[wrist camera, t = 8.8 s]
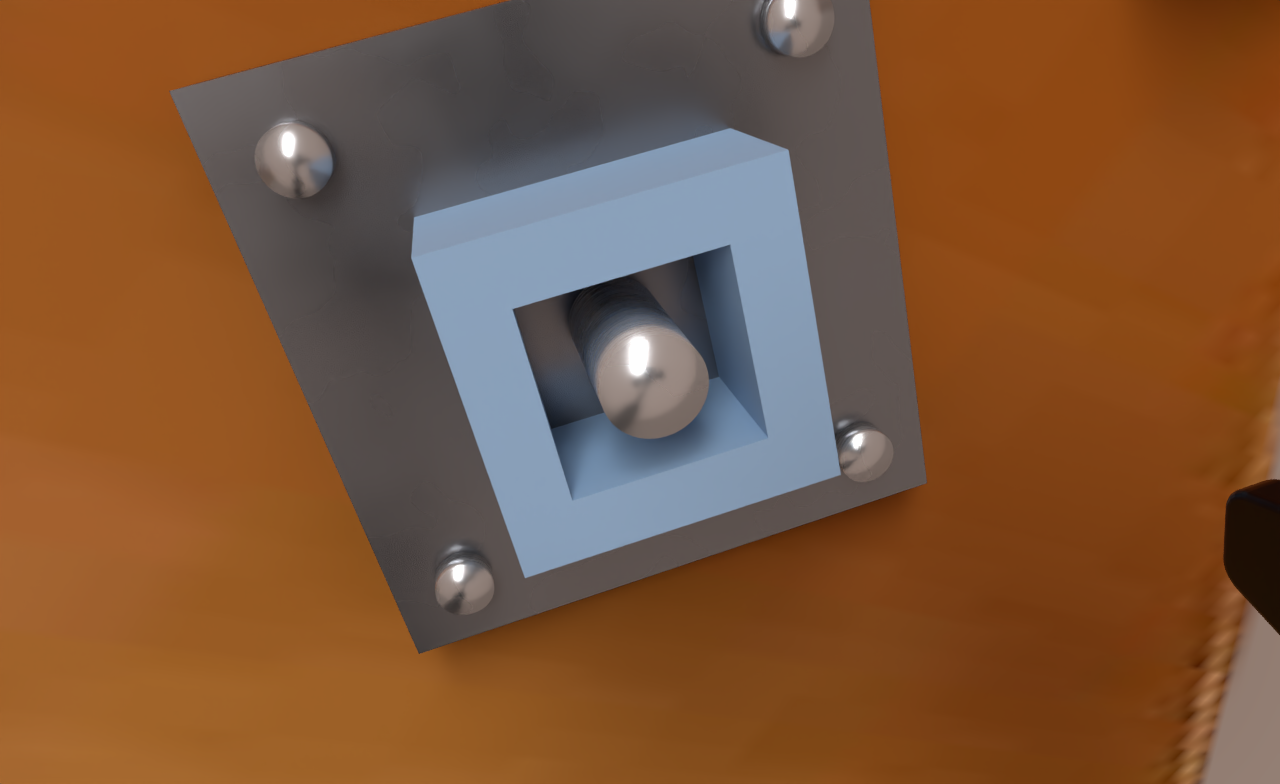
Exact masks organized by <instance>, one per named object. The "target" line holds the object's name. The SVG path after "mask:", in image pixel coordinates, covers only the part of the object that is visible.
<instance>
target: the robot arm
mask: <svg viewBox="0 0 1280 784" xmlns="http://www.w3.org/2000/svg"><path fill="white" fill-rule="evenodd" d="M1223 560H1224V566H1225V570H1226V572H1227V574H1228V576H1229V578H1230V580H1231V581H1232V583H1233V584H1234V586H1235V587H1236V588H1237V589H1238V590H1239V591H1240V593H1241V594H1242V595H1243V596H1244V597H1245V598H1246V599H1247V600H1248V601H1249V602H1250V603H1251V604H1252V606H1253V607H1254V608H1255V609H1256V610H1257V611H1258V612H1259V613H1260V614H1261V615H1262V616H1263V617H1264V618H1265V620H1266V621H1267V622H1268V623H1269V624H1270V625H1271V626H1272V627H1273V628H1274V629H1275V630H1276V632H1277V633H1278V634H1279V635H1280V480H1277V479H1273V480H1266V481H1262V482H1259V483H1257V484H1254V485H1251V486H1248V487H1245V488H1242V489H1239V490H1237V491H1235V492H1234V493H1232V494H1231V495H1230V497H1229V499H1228V501H1227V503H1226V514H1225V534H1224V554H1223Z"/></svg>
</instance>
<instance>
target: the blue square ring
mask: <svg viewBox="0 0 1280 784" xmlns="http://www.w3.org/2000/svg"><path fill="white" fill-rule="evenodd" d="M690 256H693V259H694V264H695V268H696V273H697V278H698V282H699V287H700V292H701V296H702V301H703V305H704V310H705V315H706V319H707V324H708V328H709V333H710V338H711V342H712V347H713V352H714V356H715V361H716V365H717V370H718V375H719V377H717V378H714V379H710V380H709V388H708V394H707V398H706V400H705V403H704V405H703V407H702V409H701V411H700V412H699V413H698V415H697V416H696V417H695V418H694V419H693V421H692V422H690V423H689V424H688V425H687V426H686V427H684V428H683V429H681V430H680V431H678V432H676V433H674V434H671V435H669V436H666V437H662V438H655V439H644V438H637V437H633V436H631V435H628V434H626V433H624V432H622V431H621V430H619V429H618V428H617V427H615V426H614V425H613V424H612V423H611V421H610V420H609V419H608V417H607V416H606V414H605V412H604V413H601V414H598V415H595V416H591V417H588V418H585V419H582V420H579V421H575V422H572V423H569V424H566V425H563V426H559V427H556V428H553V429H551V427H550V424H549V420H548V417H547V414H546V411H545V408H544V404H543V401H542V398H541V395H540V392H539V388H538V385H537V382H536V379H535V376H534V372H533V369H532V366H531V363H530V360H529V357H528V353H527V350H526V347H525V344H524V341H523V337H522V334H521V331H520V328H519V325H518V321H517V318H516V315H515V312H514V308H518V307H521V306H524V305H528V304H531V303H534V302H538V301H541V300H545V299H548V298H551V297H555V296H558V295H561V294H565V293H568V292H572V291H575V290H578V289H582V288H585V287H589V286H592V285H595V284H599V283H602V282H605V281H609V280H612V279H616V278H619V277H622V276H626V275H629V274H632V273H636V272H639V271H643V270H646V269H649V268H653V267H656V266H659V265H663V264H666V263H670V262H673V261H676V260H680V259H683V258H686V257H690ZM411 259H412V262H413V265H414V267H415V270H416V273H417V276H418V279H419V281H420V284H421V287H422V290H423V293H424V295H425V298H426V301H427V304H428V307H429V310H430V312H431V315H432V318H433V321H434V324H435V326H436V329H437V332H438V335H439V338H440V340H441V343H442V346H443V349H444V352H445V355H446V357H447V360H448V363H449V366H450V369H451V371H452V374H453V377H454V380H455V383H456V385H457V388H458V391H459V394H460V397H461V400H462V402H463V405H464V408H465V411H466V414H467V416H468V419H469V422H470V425H471V428H472V430H473V433H474V436H475V439H476V442H477V444H478V447H479V450H480V453H481V456H482V459H483V461H484V464H485V467H486V470H487V473H488V475H489V478H490V481H491V484H492V487H493V489H494V492H495V495H496V498H497V501H498V504H499V506H500V509H501V512H502V515H503V518H504V520H505V523H506V526H507V529H508V532H509V534H510V537H511V540H512V543H513V546H514V549H515V551H516V554H517V557H518V560H519V563H520V565H521V568H522V571H523V574H524V577H525V578H527V577H530V576H533V575H536V574H539V573H542V572H545V571H548V570H551V569H555V568H558V567H561V566H564V565H567V564H570V563H573V562H576V561H579V560H582V559H585V558H588V557H591V556H594V555H597V554H600V553H603V552H606V551H610V550H613V549H616V548H619V547H622V546H625V545H628V544H631V543H634V542H637V541H640V540H643V539H646V538H649V537H652V536H655V535H658V534H661V533H665V532H668V531H671V530H674V529H677V528H680V527H683V526H686V525H689V524H692V523H695V522H698V521H701V520H704V519H707V518H710V517H713V516H716V515H719V514H723V513H726V512H729V511H732V510H735V509H738V508H741V507H744V506H747V505H750V504H753V503H756V502H759V501H762V500H765V499H768V498H771V497H774V496H778V495H781V494H784V493H787V492H790V491H793V490H796V489H799V488H802V487H805V486H808V485H811V484H814V483H817V482H820V481H823V480H826V479H829V478H833V477H836V476H839V475H841V472H840V466H839V460H838V454H837V448H836V441H835V435H834V429H833V423H832V417H831V410H830V404H829V398H828V392H827V386H826V379H825V373H824V367H823V361H822V355H821V348H820V342H819V336H818V330H817V324H816V317H815V311H814V305H813V299H812V293H811V286H810V280H809V274H808V268H807V261H806V255H805V249H804V243H803V237H802V230H801V224H800V218H799V212H798V206H797V199H796V193H795V187H794V181H793V175H792V168H791V162H790V156H789V150H788V149H785V148H782V147H780V146H777V145H774V144H772V143H769V142H766V141H764V140H761V139H758V138H756V137H753V136H750V135H747V134H745V133H742V132H739V131H737V130H734V129H731V128H729V129H725V130H722V131H718V132H715V133H711V134H708V135H704V136H701V137H697V138H693V139H690V140H686V141H683V142H679V143H676V144H672V145H669V146H665V147H662V148H658V149H655V150H651V151H647V152H644V153H640V154H637V155H633V156H630V157H626V158H623V159H619V160H616V161H612V162H609V163H605V164H601V165H598V166H594V167H591V168H587V169H584V170H580V171H577V172H573V173H570V174H566V175H562V176H559V177H555V178H552V179H548V180H545V181H541V182H538V183H534V184H531V185H527V186H524V187H520V188H516V189H513V190H509V191H506V192H502V193H499V194H495V195H492V196H488V197H485V198H481V199H477V200H474V201H470V202H467V203H463V204H460V205H456V206H453V207H449V208H446V209H442V210H439V211H435V212H431V213H428V214H424V215H421V216H417V217H414V226H413V240H412V254H411Z"/></svg>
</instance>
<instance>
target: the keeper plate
mask: <svg viewBox="0 0 1280 784" xmlns="http://www.w3.org/2000/svg"><path fill="white" fill-rule="evenodd" d="M169 92H170V94H171V96H172V98H173V101H174V103H175V105H176V107H177V110H178V112H179V114H180V116H181V119H182V121H183V123H184V125H185V128H186V130H187V132H188V134H189V137H190V139H191V141H192V143H193V146H194V148H195V150H196V152H197V155H198V157H199V159H200V161H201V164H202V166H203V168H204V170H205V173H206V175H207V177H208V179H209V182H210V184H211V186H212V188H213V191H214V193H215V195H216V197H217V200H218V202H219V204H220V206H221V209H222V211H223V213H224V215H225V218H226V220H227V222H228V224H229V227H230V229H231V231H232V233H233V236H234V238H235V240H236V242H237V245H238V247H239V249H240V252H241V254H242V256H243V258H244V261H245V263H246V265H247V267H248V270H249V272H250V274H251V276H252V279H253V281H254V283H255V285H256V288H257V290H258V292H259V294H260V297H261V299H262V301H263V303H264V306H265V308H266V310H267V312H268V315H269V317H270V319H271V321H272V324H273V326H274V328H275V330H276V333H277V335H278V337H279V339H280V342H281V344H282V346H283V348H284V351H285V353H286V355H287V357H288V360H289V362H290V364H291V366H292V369H293V371H294V373H295V375H296V378H297V380H298V382H299V384H300V387H301V389H302V391H303V393H304V396H305V398H306V400H307V402H308V405H309V407H310V409H311V411H312V414H313V416H314V418H315V420H316V423H317V425H318V427H319V429H320V432H321V434H322V436H323V438H324V441H325V443H326V445H327V448H328V450H329V452H330V454H331V457H332V459H333V461H334V463H335V466H336V468H337V470H338V472H339V475H340V477H341V479H342V481H343V484H344V486H345V488H346V490H347V493H348V495H349V497H350V499H351V502H352V504H353V506H354V508H355V511H356V513H357V515H358V517H359V520H360V522H361V524H362V526H363V529H364V531H365V533H366V535H367V538H368V540H369V542H370V544H371V547H372V549H373V551H374V553H375V556H376V558H377V560H378V562H379V565H380V567H381V569H382V571H383V574H384V576H385V578H386V580H387V583H388V585H389V587H390V589H391V592H392V594H393V596H394V598H395V601H396V603H397V605H398V607H399V610H400V612H401V614H402V616H403V619H404V621H405V623H406V625H407V628H408V630H409V632H410V635H411V637H412V639H413V641H414V644H415V646H416V648H417V650H418V653H419V654H420V653H423V652H426V651H429V650H432V649H435V648H438V647H441V646H444V645H446V644H449V643H452V642H455V641H458V640H461V639H464V638H467V637H470V636H473V635H476V634H479V633H482V632H485V631H488V630H491V629H494V628H497V627H500V626H503V625H506V624H509V623H512V622H515V621H518V620H521V619H524V618H527V617H530V616H533V615H536V614H539V613H542V612H545V611H548V610H551V609H554V608H557V607H560V606H563V605H565V604H568V603H571V602H574V601H577V600H580V599H583V598H586V597H589V596H592V595H595V594H598V593H601V592H604V591H607V590H610V589H613V588H616V587H619V586H622V585H625V584H628V583H631V582H634V581H637V580H640V579H643V578H646V577H649V576H652V575H655V574H658V573H661V572H664V571H667V570H670V569H673V568H676V567H679V566H682V565H685V564H687V563H690V562H693V561H696V560H699V559H702V558H705V557H708V556H711V555H714V554H717V553H720V552H723V551H726V550H729V549H732V548H735V547H738V546H741V545H744V544H747V543H750V542H753V541H756V540H759V539H762V538H765V537H768V536H771V535H774V534H777V533H780V532H783V531H786V530H789V529H792V528H795V527H798V526H801V525H804V524H806V523H809V522H812V521H815V520H818V519H821V518H824V517H827V516H830V515H833V514H836V513H839V512H842V511H845V510H848V509H851V508H854V507H857V506H860V505H863V504H866V503H869V502H872V501H875V500H878V499H881V498H884V497H887V496H890V495H893V494H896V493H899V492H902V491H905V490H908V489H911V488H914V487H917V486H920V485H923V484H926V483H927V480H926V472H925V463H924V455H923V447H922V438H921V430H920V421H919V413H918V405H917V396H916V388H915V380H914V371H913V363H912V355H911V346H910V338H909V329H908V321H907V313H906V304H905V296H904V288H903V279H902V271H901V263H900V254H899V246H898V237H897V229H896V221H895V212H894V204H893V196H892V187H891V179H890V170H889V162H888V154H887V145H886V137H885V129H884V120H883V112H882V104H881V95H880V87H879V78H878V70H877V62H876V53H875V45H874V37H873V28H872V20H871V12H870V3H869V0H509V1H505V2H501V3H497V4H494V5H490V6H486V7H482V8H479V9H475V10H471V11H467V12H464V13H460V14H456V15H452V16H449V17H445V18H441V19H437V20H434V21H430V22H426V23H422V24H419V25H415V26H411V27H407V28H404V29H400V30H396V31H392V32H389V33H385V34H381V35H377V36H373V37H370V38H366V39H362V40H358V41H355V42H351V43H347V44H343V45H340V46H336V47H332V48H328V49H325V50H321V51H317V52H313V53H310V54H306V55H302V56H298V57H295V58H291V59H287V60H283V61H280V62H276V63H272V64H268V65H265V66H261V67H257V68H253V69H249V70H246V71H242V72H238V73H234V74H231V75H227V76H223V77H219V78H216V79H212V80H208V81H204V82H201V83H197V84H193V85H190V86H186V87H183V88H179V89H176V90H172V91H169ZM729 128H731V129H734V130H737V131H739V132H742V133H745V134H747V135H750V136H753V137H756V138H758V139H761V140H764V141H766V142H769V143H772V144H774V145H777V146H780V147H782V148H785V149H788V150H789V156H790V162H791V168H792V175H793V181H794V187H795V193H796V199H797V206H798V212H799V218H800V224H801V230H802V237H803V243H804V249H805V255H806V261H807V268H808V274H809V280H810V286H811V293H812V299H813V305H814V311H815V317H816V324H817V330H818V336H819V342H820V348H821V355H822V361H823V367H824V373H825V379H826V386H827V392H828V398H829V404H830V410H831V417H832V423H833V429H834V435H835V441H836V448H837V454H838V460H839V466H840V472H841V475H839V476H836V477H833V478H829V479H826V480H823V481H820V482H817V483H814V484H811V485H808V486H805V487H802V488H799V489H796V490H793V491H790V492H787V493H784V494H781V495H778V496H774V497H771V498H768V499H765V500H762V501H759V502H756V503H753V504H750V505H747V506H744V507H741V508H738V509H735V510H732V511H729V512H726V513H723V514H719V515H716V516H713V517H710V518H707V519H704V520H701V521H698V522H695V523H692V524H689V525H686V526H683V527H680V528H677V529H674V530H671V531H668V532H665V533H661V534H658V535H655V536H652V537H649V538H646V539H643V540H640V541H637V542H634V543H631V544H628V545H625V546H622V547H619V548H616V549H613V550H610V551H606V552H603V553H600V554H597V555H594V556H591V557H588V558H585V559H582V560H579V561H576V562H573V563H570V564H567V565H564V566H561V567H558V568H555V569H551V570H548V571H545V572H542V573H539V574H536V575H533V576H530V577H527V578H525V577H524V574H523V571H522V568H521V565H520V563H519V560H518V557H517V554H516V551H515V549H514V546H513V543H512V540H511V537H510V534H509V532H508V529H507V526H506V523H505V520H504V518H503V515H502V512H501V509H500V506H499V504H498V501H497V498H496V495H495V492H494V489H493V487H492V484H491V481H490V478H489V475H488V473H487V470H486V467H485V464H484V461H483V459H482V456H481V453H480V450H479V447H478V444H477V442H476V439H475V436H474V433H473V430H472V428H471V425H470V422H469V419H468V416H467V414H466V411H465V408H464V405H463V402H462V400H461V397H460V394H459V391H458V388H457V385H456V383H455V380H454V377H453V374H452V371H451V369H450V366H449V363H448V360H447V357H446V355H445V352H444V349H443V346H442V343H441V340H440V338H439V335H438V332H437V329H436V326H435V324H434V321H433V318H432V315H431V312H430V310H429V307H428V304H427V301H426V298H425V295H424V293H423V290H422V287H421V284H420V281H419V279H418V276H417V273H416V270H415V267H414V265H413V262H412V259H411V254H412V240H413V226H414V217H417V216H421V215H424V214H428V213H431V212H435V211H439V210H442V209H446V208H449V207H453V206H456V205H460V204H463V203H467V202H470V201H474V200H477V199H481V198H485V197H488V196H492V195H495V194H499V193H502V192H506V191H509V190H513V189H516V188H520V187H524V186H527V185H531V184H534V183H538V182H541V181H545V180H548V179H552V178H555V177H559V176H562V175H566V174H570V173H573V172H577V171H580V170H584V169H587V168H591V167H594V166H598V165H601V164H605V163H609V162H612V161H616V160H619V159H623V158H626V157H630V156H633V155H637V154H640V153H644V152H647V151H651V150H655V149H658V148H662V147H665V146H669V145H672V144H676V143H679V142H683V141H686V140H690V139H693V138H697V137H701V136H704V135H708V134H711V133H715V132H718V131H722V130H725V129H729ZM514 312H515V315H516V318H517V321H518V325H519V328H520V331H521V334H522V337H523V341H524V344H525V347H526V350H527V353H528V357H529V360H530V363H531V366H532V369H533V372H534V376H535V379H536V382H537V385H538V388H539V392H540V395H541V398H542V401H543V404H544V408H545V411H546V414H547V417H548V420H549V424H550V427H551V429H553V428H556V427H559V426H563V425H566V424H569V423H572V422H575V421H579V420H582V419H585V418H588V417H591V416H595V415H598V414H601V413H604V412H605V414H606V416H607V417H608V419H609V420H610V421H611V423H612V424H613V425H614V426H615V427H617V428H618V429H619V430H621V431H622V432H624V433H626V434H628V435H631V436H633V437H637V438H644V439H655V438H662V437H666V436H669V435H671V434H674V433H676V432H678V431H680V430H681V429H683V428H684V427H686V426H687V425H688V424H689V423H690V422H692V421H693V419H694V418H695V417H696V416H697V415H698V413H699V412H700V411H701V409H702V407H703V405H704V403H705V400H706V398H707V394H708V388H709V380H710V379H714V378H717V377H719V375H718V370H717V365H716V361H715V356H714V352H713V347H712V342H711V338H710V333H709V328H708V324H707V319H706V315H705V310H704V305H703V301H702V296H701V292H700V287H699V282H698V278H697V273H696V268H695V264H694V259H693V256H690V257H686V258H683V259H680V260H676V261H673V262H670V263H666V264H663V265H659V266H656V267H653V268H649V269H646V270H643V271H639V272H636V273H632V274H629V275H626V276H622V277H619V278H616V279H612V280H609V281H605V282H602V283H599V284H595V285H592V286H589V287H585V288H582V289H578V290H575V291H572V292H568V293H565V294H561V295H558V296H555V297H551V298H548V299H545V300H541V301H538V302H534V303H531V304H528V305H524V306H521V307H518V308H514Z"/></svg>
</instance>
